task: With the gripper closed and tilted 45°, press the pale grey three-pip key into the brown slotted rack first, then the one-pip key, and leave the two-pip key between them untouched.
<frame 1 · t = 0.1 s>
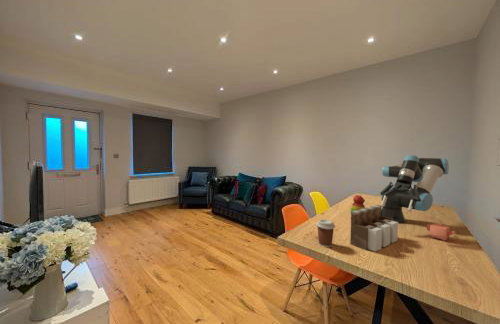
hand: (395, 208, 118), 15 cm above the table, tool tilted 35°, fingers open, 13 cm apart
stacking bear: (358, 220, 144), on the table
coffee cup: (325, 244, 105), on the table
pink cube teapot: (440, 239, 113), on the table
key three: (372, 237, 101), point 5 cm above the table, slide at 0.0 cm
brown slotted rack: (372, 240, 109), on the table
key one: (388, 230, 110), point 5 cm above the table, slide at 0.0 cm
key two: (380, 233, 106), point 5 cm above the table, slide at 0.0 cm
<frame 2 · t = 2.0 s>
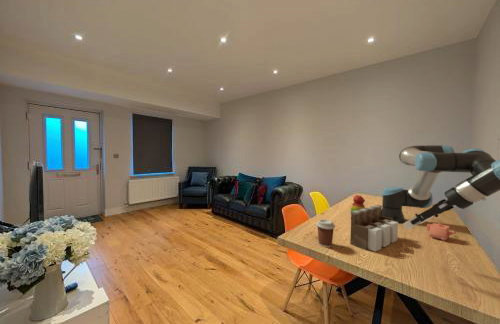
hand: (411, 224, 87), 17 cm above the table, tool tilted 45°, fingers open, 12 cm apart
nothing on the table moved.
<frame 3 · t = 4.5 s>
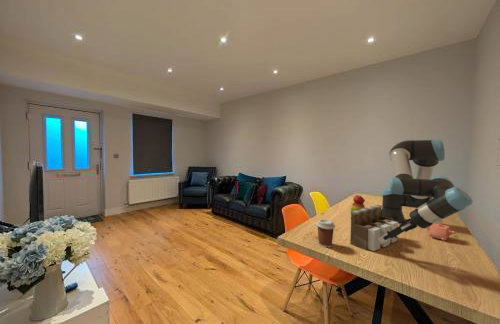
hand: (379, 241, 98), 5 cm above the table, tool tilted 45°, fingers closed
key three: (370, 237, 101), point 5 cm above the table, slide at 0.6 cm, touching gripper
everything else where it was.
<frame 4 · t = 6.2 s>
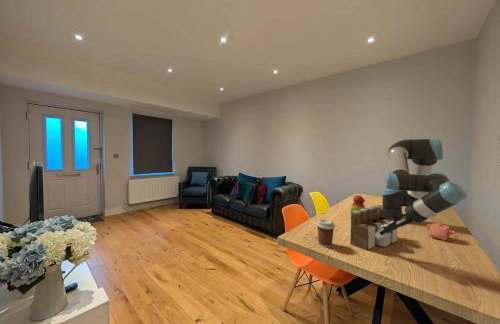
hand: (376, 236, 98), 7 cm above the table, tool tilted 45°, fingers closed
key three: (365, 235, 103), point 5 cm above the table, slide at 3.0 cm
everything else where it was.
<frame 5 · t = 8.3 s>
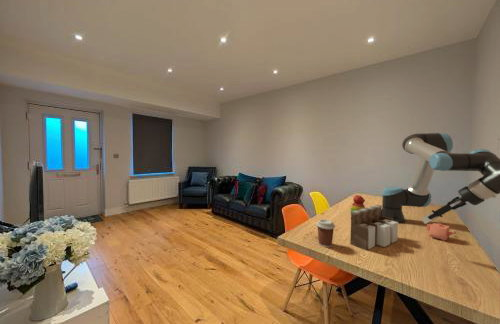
hand: (423, 221, 98), 15 cm above the table, tool tilted 45°, fingers closed
nothing on the table moved.
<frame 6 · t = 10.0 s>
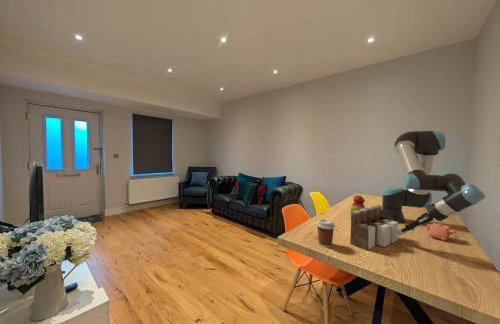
hand: (397, 233, 107), 5 cm above the table, tool tilted 45°, fingers closed
key one: (388, 230, 110), point 5 cm above the table, slide at 0.0 cm, touching gripper
everything else where it was.
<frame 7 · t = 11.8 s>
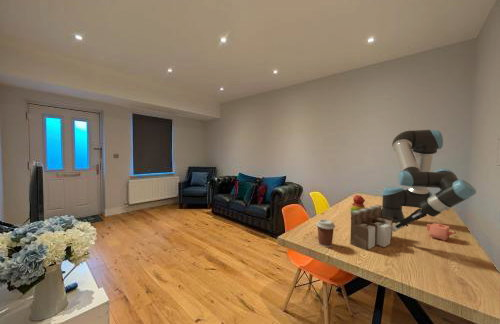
hand: (392, 229, 109), 6 cm above the table, tool tilted 45°, fingers closed
key one: (382, 228, 113), point 5 cm above the table, slide at 3.0 cm
everything else where it was.
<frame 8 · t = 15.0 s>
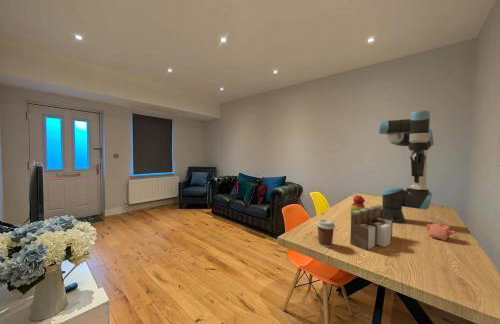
hand: (417, 189, 102), 29 cm above the table, tool pointing down, fingers closed
nothing on the table moved.
at the end: key three slide at 3.0 cm; key one slide at 3.0 cm; key two slide at 0.0 cm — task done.
